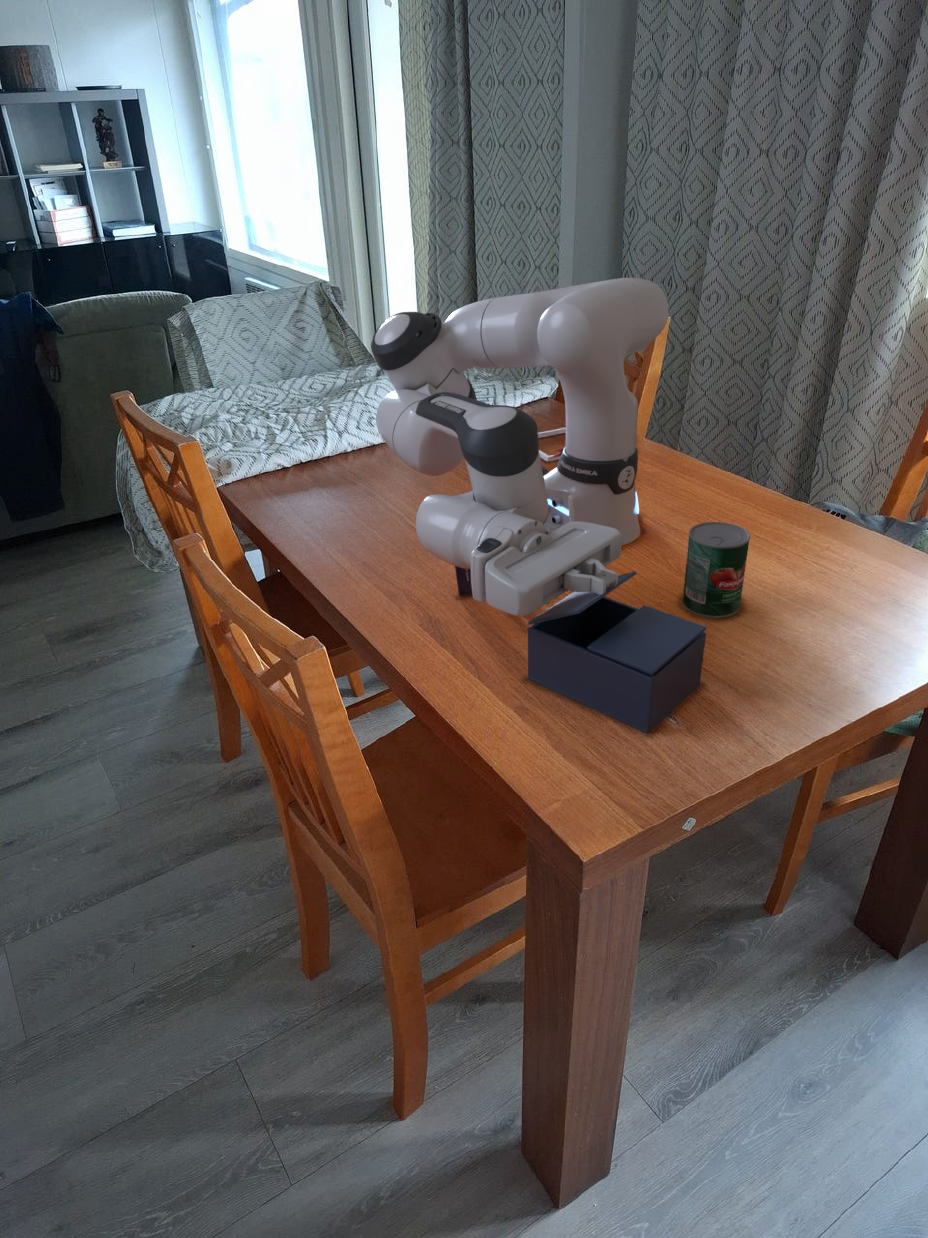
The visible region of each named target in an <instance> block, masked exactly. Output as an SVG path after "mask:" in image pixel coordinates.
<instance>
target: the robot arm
mask: <svg viewBox="0 0 928 1238" xmlns="http://www.w3.org/2000/svg"><path fill="white" fill-rule="evenodd" d="M668 319H669V303H668V299H667V296H666V294H665V293H664V291H663V289H662V288H661V287H660V286H659V285H658V284H657V283H655V282H654V281H652V280H650V279H646V278H641V277H620V278H612V279H606V280H600V281H595V282H589V283H588V282H587V283H582V284H577V285H570V286H565V287H559V288H553V289H547V290H542V291H537V292H527V293H521V294H513V295H506V296H505V295H504V296H497V297H491V298H487V299H482V300H479V301H475V302H472V303H468V304H466V305H463V306H462V307H459V308H457V309H455V310H454V311H452V313H450V315H449V316H448V317H447V319H446V320H445V321H444V322H443V321H442V319H441V317H440V316H438V315H437V314H435V313H433V312H425V313H422V312H420V311H402V312H398V313H395V314H393V315H391V316H390V317H388V318H387V319H385V320H384V321H383V322H382V323H381V324H380V325H379V326H378V327H377V328H376V330H375V331H374V334H373V336H372V339H371V341H370V350H371V353H372V356H373V358H374V360H375V362H376V364H377V366H378V367H379V369H381V370H383V372H384V374H385V375H386V377H387V379H388V380H389V382H390V384H391V385H392V386H393V388H394V390H393V391H391V392H389V393H388V394H387V395H385V397H383V398H382V399H381V401H380V403H379V404H378V407H377V409H376V413H375V424H376V427H377V430H378V432H379V434H380V436H381V438H382V439H383V441H384V442H385V444H386V445H387V446H388V448H389V449H390V450H391V451H392V452H393V454H395V455H396V456H397V457H398V458H399V459H400V460H401V461H402V462H403V463H404V464H406V465H407V466H408V467H410V468H411V469H412V470H413V471H416V472H418V473H419V474H422V475H425V476H430V477H434V476H435V477H436V476H440V475H444V474H447V473H449V472H451V471H452V470H454V469H455V468H457V467H458V466H459V465H460V464H461V463H462V461H463V460H464V461H465V464H466V465H465V466H466V469H467V472H468V473H467V474H468V477H469V480H470V485H471V488H472V489H471V490H469V491H467V492H464V493H460V494H456V495H449V494H441V493H439V494H438V493H434V494H430V495H428V496H426V497H424V499H423V500H422V502H421V503H420V505H419V507H418V509H417V512H416V516H415V531H416V535H417V539H418V542H419V544H420V546H421V547H422V548H423V549H424V550H425V551H426V552H428V553H429V554H431V555H432V556H433V557H436V558H437V559H439V560H441V561H442V562H446V563H448V564H450V565H453V566H454V567H455V566H458V567H460V568H463V569H471V586H472V594H473V595H472V599H473V600H474V601H476V602H479V603H484V604H485V603H487V604H488V606H490V607H492V608H494V609H496V610H498V611H501V612H503V613H506V614H508V615H511V616H514V617H525V616H526V617H527V616H530V615H532V614H533V613H534V612H536V611H538V610H539V609H541V608H542V607H545V606H546V605H547V604H549V603H550V602H552V601H553V600H555V599H557V598H558V597H560V596H561V595H563V594H565V593H567V592H568V591H570V592H571V593H573V592H590V591H591V592H594V593H596V594H599V595H603V594H604V593H606V592H607V591H608V590H610V589H611V588H613V587H615V586H616V585H617V584H618V576H619V574H618V573H617V572H616V571H613V570H611V569H608V568H606V567H607V566H608V565H610V564H611V563H613V562H615V561H616V560H618V559H619V558H620V557H621V555H622V546H625V545H628V544H630V543H632V542H634V541H635V540H637V539H638V538H639V537H640V535H641V531H642V530H641V526H640V523H639V513H640V507H639V499H638V494H637V491H636V478H637V474H638V464H639V463H638V462H639V450H638V448H637V433H638V431H637V430H638V417H639V416H638V415H639V401H638V399H637V396H635V394H633V392H631V390H629V387H628V383H627V380H626V374H625V359H626V357H628V356H631V355H633V354H636V353H638V352H640V351H642V350H644V349H645V348H647V347H648V346H649V345H650V344H651V343H652V342H653V341H654V340H656V339H657V337H658V336H660V334H662V332H663V331H664V329H665V327H666V325H667V322H668ZM549 366H550V367H551V368H552V369H554V370H555V372H556V374H557V377H558V380H559V382H560V385H561V389H562V393H563V398H564V408H565V428H566V433H565V445H564V446H563V447H561V448H559V449H555V450H553V451H552V452H553V453H555V454H553V455H554V456H553V457H557V456H560V455H561V457H560V459H558V462H557V465H556V467H555V468H553V469H552V470H550V471H549V470H548V469H547V468H546V467H544V466H543V465H542V461H541V460H542V459H541V457H540V454H539V450H540V443H539V438H538V433H539V432H538V431H539V430H538V424H537V422H536V421H535V419H534V418H533V417H532V416H530V415H529V414H528V413H527V412H525V411H524V410H521V409H519V408H518V407H515V406H512V405H502V404H493V405H490V404H489V403H488V402H484V401H482V400H479V399H477V395H476V392H475V389H474V386H473V385H472V382H471V381H470V380H469V379H467V376H466V375H465V373H464V372H465V371H467V370H470V369H473V368H479V369H489V370H490V369H491V370H492V369H493V370H499V369H500V370H501V369H502V370H504V369H520V368H535V367H536V368H537V367H549Z"/></svg>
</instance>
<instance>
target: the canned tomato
mask: <svg viewBox="0 0 928 1238" xmlns="http://www.w3.org/2000/svg"><path fill="white" fill-rule="evenodd" d="M750 539H751V534H750V532H749V531H748V530H747V529H745V528H744V527H743V526H739V525H738V524H733V523H730V522H723V521H707V522H701V523H698V524H695V525H693V526H692V527H691V528H690V529H689V531H688V541H687V552H686V563H685V572H684V583H683V591H682V599H681V604H682V606H683V608H684V609H685V610H686V611H688V612H689V613H690V614H693V615H695V616H698V617H702V618H706V619H725V618H729V617H732V616H734V615H736V614H737V613H738V612H739V611H740V609H741V600H742V595H743V594H742V593H743V588H744V581H745V572H746V566H747V560H748V552H749V544H750Z"/></svg>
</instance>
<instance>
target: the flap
mask: <svg viewBox="0 0 928 1238" xmlns="http://www.w3.org/2000/svg"><path fill="white" fill-rule="evenodd" d="M637 574H638V572H637V571H636V570H633V571H630V572H627V573H622V574H618V584H617V585H616V586H615V587H613V588H611V589H610V590H608V591H607V592H606V593H604V594H603V595H599V594H596V593H594V592H591V591H590V592H571V593H570V594H568V595H566V596H565V597H564V598H562V599H560V600H559V601H558V602H556V603H554V604H553V605H551V606H550V607H549V608H547V609H545V610H544V611H542V612H540V613H539V614H538V615H536V616H535V617H533V618H531V619H530V620H528V621H527V623H528V625H529V626H532V625H533V624H535V623H540V622H544V621H548V620H553V619H557V618H561V617H566V616H570V615H574V614H579V613H581V612H582V611H584V610H585V609H587V608H588V607H589V606H591V605H592V604H594V603H595V602H597V601H598V600H600V599H601V598H603V597H607V595H609V594H610V593H611V592H613V591H614V590H615V589H617V588H619V587H620V586H622V585H623V584H625V583H626V582H627V581H629V580H630V579H632V578H633V577H635V576H636V575H637Z"/></svg>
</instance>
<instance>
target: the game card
mask: <svg viewBox="0 0 928 1238" xmlns="http://www.w3.org/2000/svg"><path fill="white" fill-rule="evenodd" d="M454 570H455V577H456V584H457V585H456V587H457V593H458V596H459V597H461V598H462V597H468V596H473V594H472V586H471V569H463V568H460V567H458V566H455V565H454Z"/></svg>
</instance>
